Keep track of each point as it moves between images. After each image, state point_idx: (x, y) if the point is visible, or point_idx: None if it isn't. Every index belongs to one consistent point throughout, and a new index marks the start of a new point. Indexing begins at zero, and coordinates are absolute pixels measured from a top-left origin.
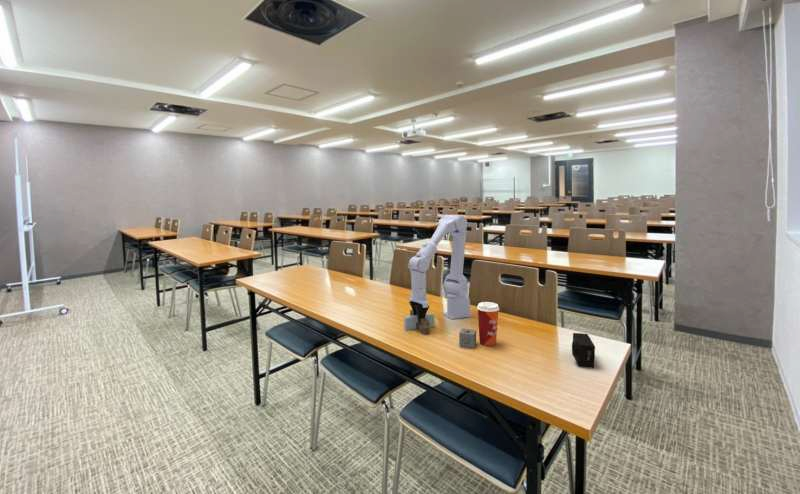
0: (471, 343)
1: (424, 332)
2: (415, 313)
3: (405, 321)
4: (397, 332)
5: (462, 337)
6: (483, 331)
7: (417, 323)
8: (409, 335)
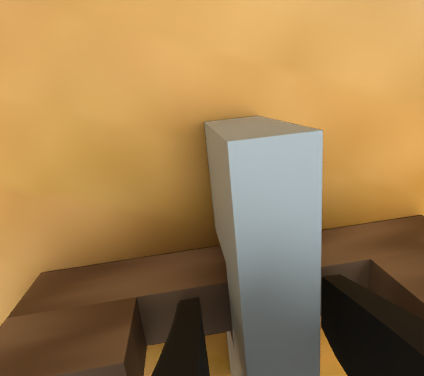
0: None
1: (31, 287)
2: (369, 335)
3: (230, 132)
4: (168, 7)
5: None
6: None
7: None
8: (48, 127)
